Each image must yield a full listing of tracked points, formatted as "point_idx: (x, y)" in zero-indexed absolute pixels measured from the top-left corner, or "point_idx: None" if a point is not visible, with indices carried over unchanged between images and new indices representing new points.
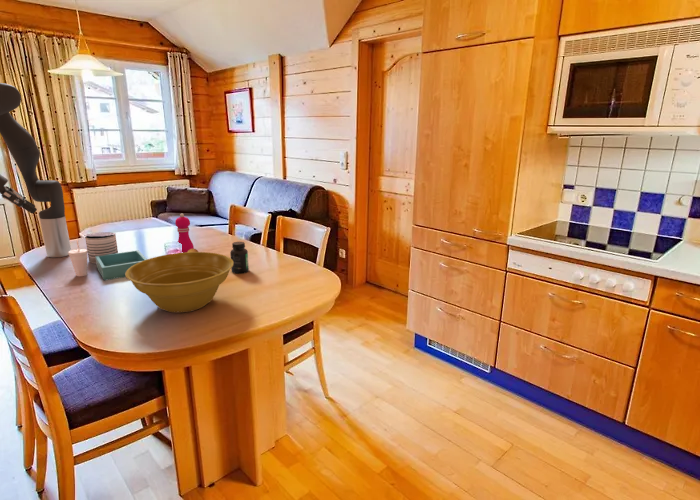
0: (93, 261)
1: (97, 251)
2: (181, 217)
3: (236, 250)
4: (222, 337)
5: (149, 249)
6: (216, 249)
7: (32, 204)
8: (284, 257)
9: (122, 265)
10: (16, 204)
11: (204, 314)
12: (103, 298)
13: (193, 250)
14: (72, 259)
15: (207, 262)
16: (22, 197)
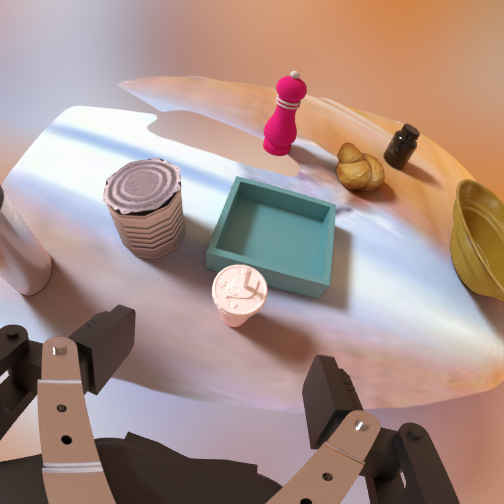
0: (159, 254)
1: (170, 231)
2: (297, 79)
3: (414, 141)
4: None
5: (167, 152)
6: (269, 112)
7: (124, 319)
8: (364, 113)
9: (332, 248)
10: (397, 483)
11: None
12: (412, 336)
13: (355, 148)
14: (246, 317)
15: (461, 194)
16: (78, 367)
